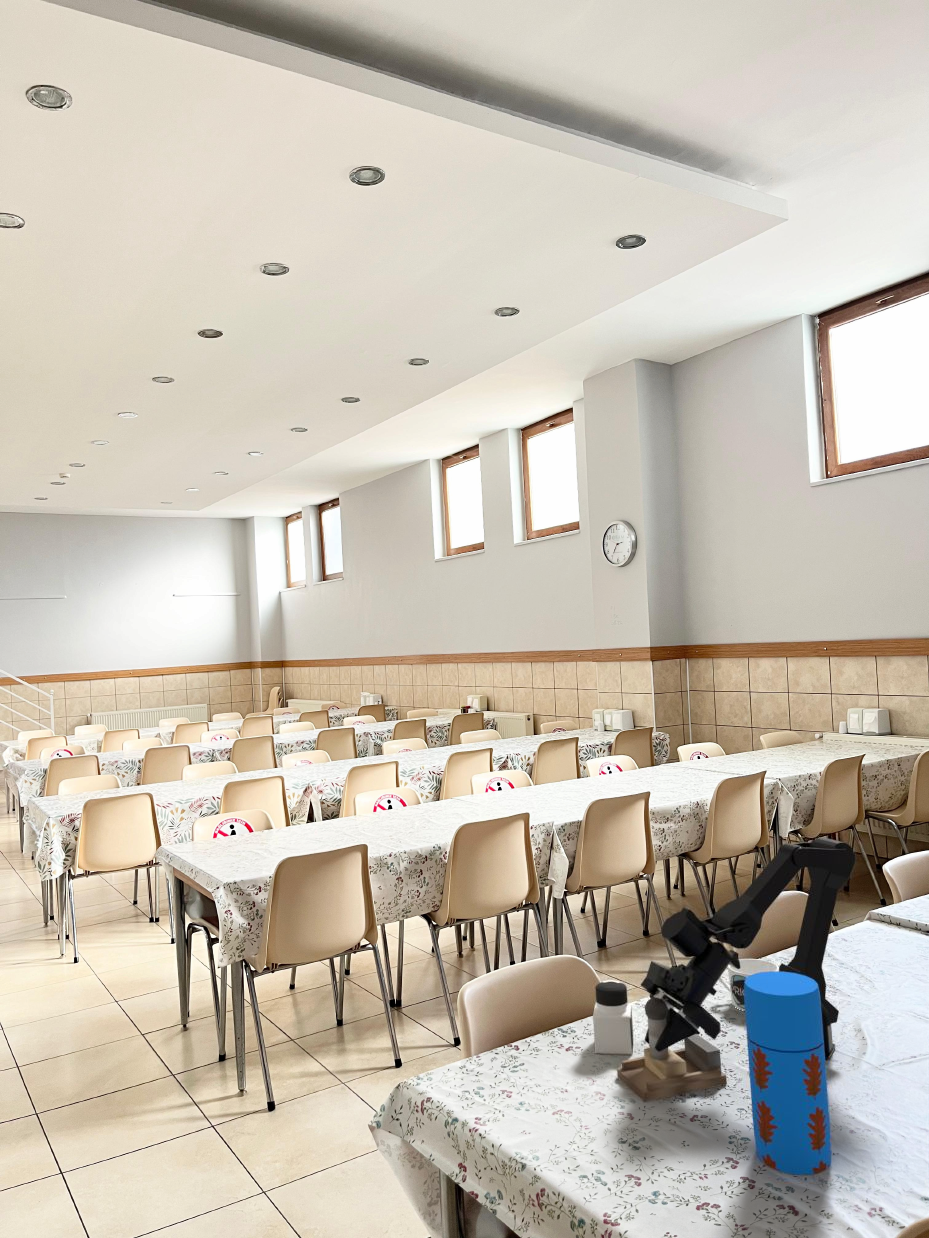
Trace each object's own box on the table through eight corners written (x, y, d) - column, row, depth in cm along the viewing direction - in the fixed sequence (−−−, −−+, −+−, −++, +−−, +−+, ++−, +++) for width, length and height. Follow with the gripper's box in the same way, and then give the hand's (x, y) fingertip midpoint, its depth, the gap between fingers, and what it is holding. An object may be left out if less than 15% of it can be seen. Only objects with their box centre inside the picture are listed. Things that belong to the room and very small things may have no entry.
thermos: (795, 1183, 126) (782, 1001, 128) (739, 1149, 136) (727, 980, 137) (849, 1160, 131) (835, 985, 133) (791, 1129, 141) (779, 966, 142)
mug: (787, 1000, 193) (784, 962, 194) (775, 1017, 184) (772, 977, 185) (724, 991, 201) (722, 954, 201) (710, 1007, 192) (707, 969, 192)
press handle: (664, 1061, 163) (660, 988, 164) (686, 1079, 156) (681, 1002, 157) (640, 1066, 162) (635, 992, 163) (661, 1084, 155) (656, 1007, 155)
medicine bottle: (633, 1055, 171) (628, 990, 171) (595, 1053, 172) (591, 989, 173) (633, 1039, 178) (629, 977, 178) (597, 1038, 179) (593, 976, 180)
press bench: (695, 1061, 166) (693, 1030, 167) (726, 1084, 157) (724, 1051, 157) (617, 1077, 162) (615, 1045, 162) (644, 1101, 152) (642, 1068, 153)
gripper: (646, 931, 170) (597, 1000, 166) (700, 959, 152) (646, 1038, 148) (686, 967, 172) (638, 1036, 168) (743, 1000, 154) (691, 1078, 150)
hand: (651, 1045), depth 159 cm, fingers closed on press handle, 3 cm apart
